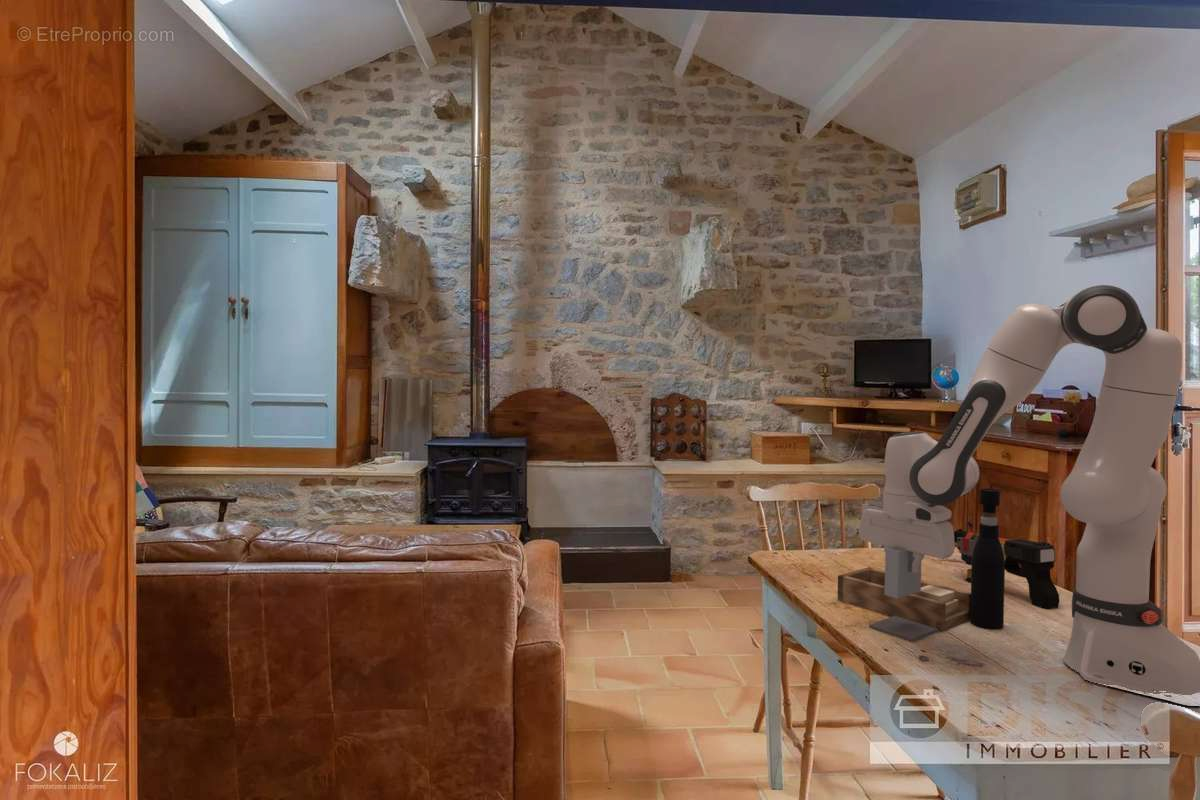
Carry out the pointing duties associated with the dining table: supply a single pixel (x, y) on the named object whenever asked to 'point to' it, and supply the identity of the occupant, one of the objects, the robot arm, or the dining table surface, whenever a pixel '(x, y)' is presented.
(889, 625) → the flat gray square tile
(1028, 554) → the toy gun
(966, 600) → the wooden box
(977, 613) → the wine bottle
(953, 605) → the block
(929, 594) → the offcut top
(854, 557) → the dining table surface
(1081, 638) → the robot arm
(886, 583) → the gray rectangular block
